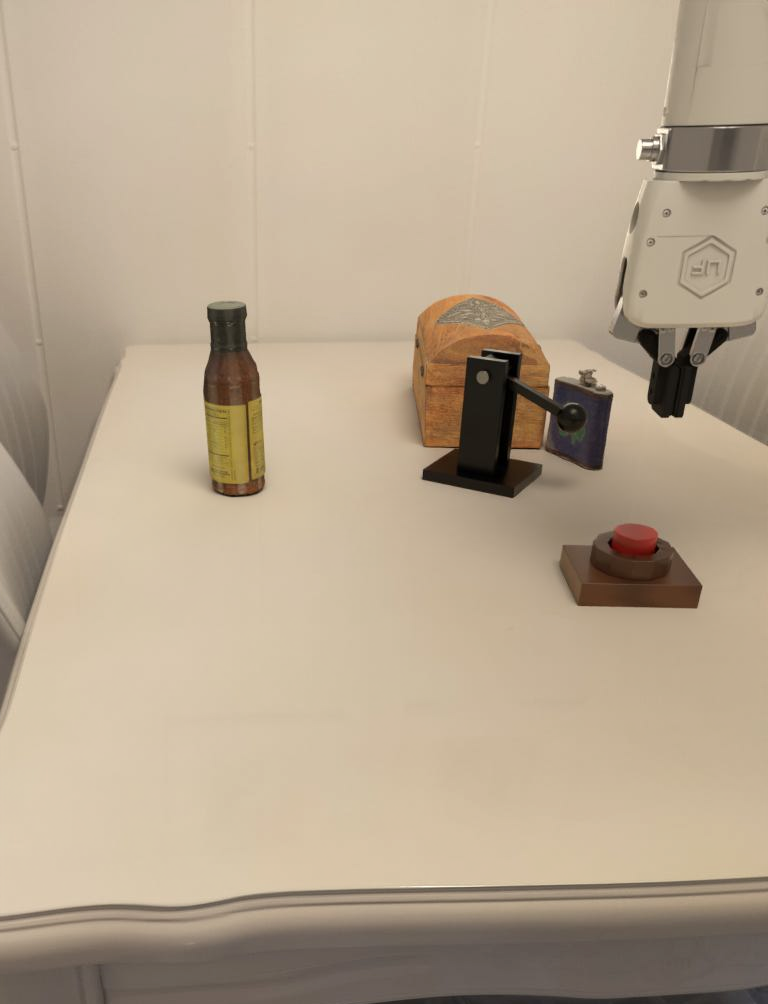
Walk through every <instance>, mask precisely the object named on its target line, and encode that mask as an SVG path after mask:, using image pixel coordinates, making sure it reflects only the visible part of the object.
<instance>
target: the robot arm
mask: <svg viewBox="0 0 768 1004" xmlns="http://www.w3.org/2000/svg"><path fill="white" fill-rule="evenodd" d="M660 125H661V126H660V127H657V129H656V133H655V135H653V136H650V137H649V138H640V139H639V140H638V141H637V145H636V151H635V156H636V160H637V161H646V162H647V163H650V165H651V170H652V169H653V175H652V176H650V177H644V178H643V180H642V183H641V186H640V189H639V192H638V194H637V198H636V201H635V203H634V207H633V210H632V214H631V217H630V221H629V224H628V229H627V232H626V236H625V240H624V245H623V248H622V252H621V258H620V262H619V263H620V264H619V268H618V274H617V277H616V284H615V290H614V302H613V303H614V309H615V311H614V313H613V316H612V319H611V322H610V324H609V327H608V333H609V334H610V335H611V336H612V337H613V338H615V339H618V340H622V341H626V342H628V343H629V342H630V343H633V344H639V345H640V347H641V348H642V349H643V350H644V351H645V352H646V354H648V356H649V358H651V360H652V366H651V372H650V377H649V381H648V382H649V383H648V389H647V390H648V391H647V395H646V397H647V398H646V400H647V403H648V404H649V405H650V407H651V411H653V412H654V413H655V414H656V415H657V416H658V417H659V418H660V419H669V418H670V417H671V416H672V418H674V419H682V418H683V417H684V414H685V410H686V405H690V404H691V402H692V399H693V394H694V389H695V385H696V378H697V373H698V369H699V367H701V366H703V365H704V364H705V362H706V361H707V358H708V357H709V356H710V355H711V354H713V353H714V352H715V351H716V350H717V349H719V348H720V347H721V346H722V345H723V344H724V343H726V342H732V341H733V342H734V341H736V340H740V339H745V338H748V337H751V336H753V335H754V334H755V333H756V331H757V321H758V320H760V319H761V318H762V317H763V315H764V313H765V310H766V308H767V304H768V0H679V5H678V12H677V18H676V25H675V32H674V37H673V45H672V50H671V57H670V65H669V70H668V77H667V83H666V89H665V96H664V104H663V110H662V117H661V123H660ZM676 329H685V330H684V331H685V332H684V334H683V338H682V341H681V343H680V347H679V350H678V352H677V353H676V333H677V332H676Z"/></svg>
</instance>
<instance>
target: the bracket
mask: <svg viewBox="0 0 768 1004" xmlns="http://www.w3.org/2000/svg"><path fill="white" fill-rule="evenodd" d="M490 354H492V355H494V356H496V357H497V358H499V359H494V358H486V356H488V355H490ZM521 361H522V353H517V352H509V351H501V350H493V349H483V350H482V352H481V357H478V356H469V357H467V364H466V375H465V386H464V396H463V407H462V418H461V429H460V440H459V447H458V448H457V447H454V449H452V450H450V451H449V452H447V453H445V454H444V455H442V456H441V457H439V458H438V459H436V460H435V461H433V462H432V463H430V464H428V465H427V466H426V467H424V468H423V469H422V475H421V476H422V477H421V479H422V480H425V481H428V482H429V481H430V482H434V483H439V484H443V485H449V486H453V487H458V488H463V489H467V490H474V491H478V492H483V493H488V494H492V495H497V496H502V497H506V498H507V497H508V498H512V499H513V498H515V497H516V496H517V495H518V494H520V493H521V492H522V491H524V490H525V489H526V488H527V487H528V486H529V485H530V484H532V483H533V482H534V481H535V480H536V479H537V478H539V477H540V476H541V475H542V472H543V463H537V462H533V461H532V462H531V461H526V460H521V459H517V458H516V459H515V458H511V450H512V448H511V444H512V436H513V427H514V419H515V411H516V403H517V394H518V393H516V392H514V391H513V390H511V389H509V388H507V387H506V382H507V373H508V364H509V365H511V366H512V368H511V370H510V372H509V374H510V375H512V376H513V377H515V378H517V379H518V380H519V378H520V370H521Z"/></svg>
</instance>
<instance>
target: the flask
mask: <svg viewBox="0 0 768 1004" xmlns="http://www.w3.org/2000/svg"><path fill="white" fill-rule="evenodd" d="M597 371H598V370H597V369H596V368H592V369H591V368H589V369H584V370H581V369H579V370H578V374H579V375H580V377H579V379H578V378H575V377H570V376H569V377H568V376H558V377H556V378H555V379H554V384H553V393H552V400H554V401H556V402H557V403H559V404H561V405H563V406H564V405H566V404H568V403H578V404H580V405H582V406H583V407H584V408H585V410H586V411H587V415H588V420H587V423H586V425H585V427H584V428H583V429H582V430H581V431H579V432H577V433H573V434H568V433H565V432H563V431H562V430H560V429H559V427H558V425H557V422H556V416H555V415H553V414H551V413H550V412H549V414H550V415H549V424H548V428H547V435H546V441H545V449H546V451H547V452H548V453H550V454H555V455H556V456H558V457H559V458H561V459H563V460H566V461H567V460H568V461H571V463H573V464H577V466H581V467H582V468H584V469H586V470H590V471H599V470H602V469H603V465H604V457H605V450H606V445H607V438H608V430H609V425H610V419H611V412H612V405H613V401H614V393H613V391H612V390H611V389H608V388H607V386H605V385H604V384H601V383H600V384H599V385H598V380H597V378H596V377H593V374H594V373H596V372H597Z"/></svg>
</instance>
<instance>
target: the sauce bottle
mask: <svg viewBox="0 0 768 1004" xmlns="http://www.w3.org/2000/svg"><path fill="white" fill-rule="evenodd" d="M247 317H248V311H247V304H246V303H245V302H243V301H237V300H220V301H214V302H211V303H209V304H208V305H207V306H206V318H207V320H208V322H209V334H210V344H209V346H210V351H209V355H208V358H207V362H206V365H205V368H204V372H203V373H204V375H203V385H202V395H203V406H204V417H205V418H204V419H205V431H206V441H207V442H206V443H207V456H208V467H209V476H210V478H211V485H212V487H213V489H214V490H215V491H216V492H217V493H220V494H223V493H224V494H223V495H226V494H227V495H226V496H231V495H236V496H244V495H245V496H247V494H249V495H253V494H256V493H258V492H260V491H261V490H263V488H264V487H265V484H266V478H265V473H266V455H265V435H264V421H263V419H264V418H263V398H262V397H263V396H262V392H261V386H260V385H261V383H260V381H261V379H260V378H261V376H260V373H259V371H258V365H257V363H256V361H255V360H254V358H253V356H252V354H251V352H250V350H249V349H248V340H247V329H246V328H247V327H246V320H247Z"/></svg>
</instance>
